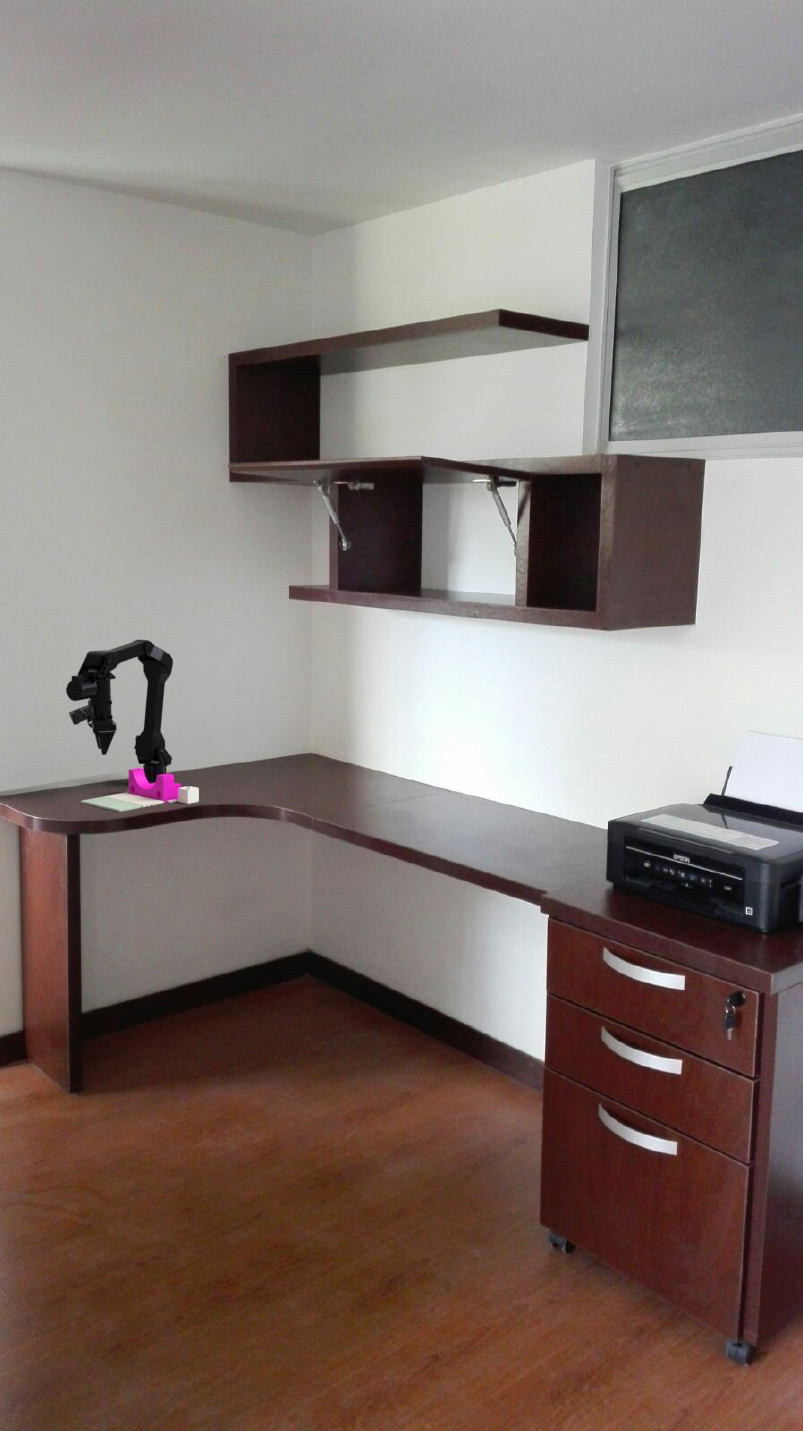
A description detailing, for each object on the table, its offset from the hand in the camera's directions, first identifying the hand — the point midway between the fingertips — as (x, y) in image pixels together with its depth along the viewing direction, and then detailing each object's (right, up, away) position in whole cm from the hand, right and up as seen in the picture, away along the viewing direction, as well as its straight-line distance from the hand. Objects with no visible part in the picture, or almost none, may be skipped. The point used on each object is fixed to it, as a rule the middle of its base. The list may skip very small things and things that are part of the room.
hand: (102, 751), depth 332 cm
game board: (+9, -14, -1) cm, 16 cm away
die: (+24, -14, -1) cm, 28 cm away
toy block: (+14, -13, +5) cm, 20 cm away
